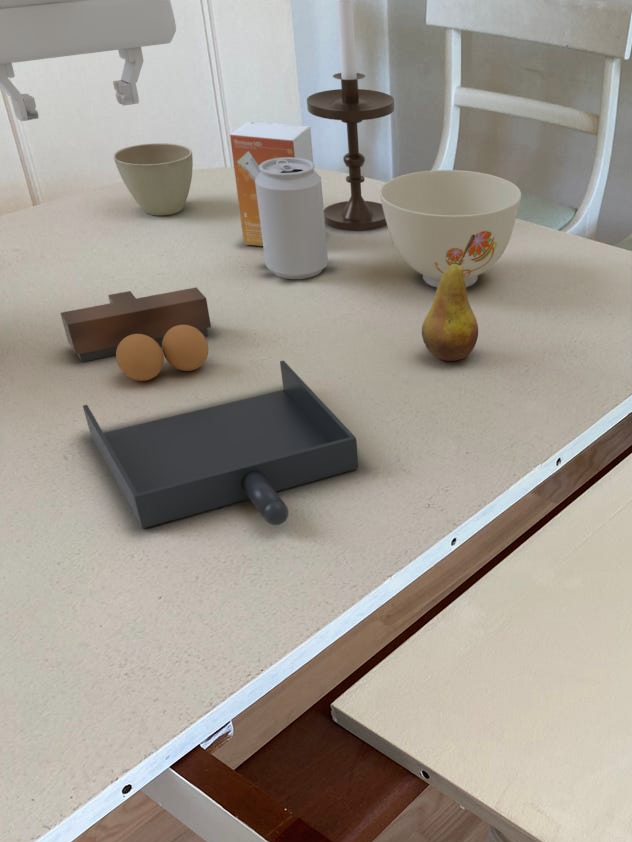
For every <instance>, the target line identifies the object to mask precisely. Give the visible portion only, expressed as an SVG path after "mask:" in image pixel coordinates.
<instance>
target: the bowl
mask: <svg viewBox="0 0 632 842" xmlns="http://www.w3.org/2000/svg"><path fill="white" fill-rule="evenodd" d="M379 198H380V204H382V207H383V211H384V215H385V219H386V223H387V225H386V227H387V229H388V233H389V236H390V239H391V243H392V244H393V246H394V248H395V250H396V251H397V253H398V255H399V256H400V258H401V259H402V260H403V261H404V262H405V263H406V264H407V265H408V266H409V267H410V268H412V269H413V270H414V271H416V272H418V273H419V274H421V275H422V279H423V281H424V282H425V283H426V284H427V285H429V286H430V287H433V288H436V289H437V288H438V285H439V282H440V280H441V277H442V275H443V273H444V272H445V270H446V269H447V268H448V267H449V266H451V264H457V263H458V261H459V259H460V258H461V256H462V254H463V253H464V250H465V248H466V246H467V244H468V242H469V240H470V238H471V236H472V235H475V238H474V240H473V242H472V243H471V245H470V246H469V248H468V250H467V252H466V254H465V256H464V258H463V260H462V261H461V264H460V265H461V267H462V268H463V275H464V279H465V285H466V288H470V287H471V286H473V285H474V284H475V283H476V282H477V281H478V278H479V277H478V276H479V275H482V274H483V273H485V272H486V271H488V270H490V268H491V267H493V266H494V265H495V264H496V263H497V262H498V261H499V260H500V258H501V257H502V255H503V254H504V253H505V251H506V249H507V247H508V245H509V243H510V239H511V236H512V235H513V230H514V227H515V223H516V219H517V216H518V212H519V208H520V205H521V199H522V191H521V190H520V188H519V187H518V186H517V185H515V183H513V182H511V181H509V180H507V179H505V178H502V177H500V176H496V175H492V174H489V173H484V172H478V171H472V170H461V169H460V170H459V169H458V170H457V169H434V170H424V171H415V172H411V173H406V174H403V175H399V176H396V177H394V178H391V179H390V180H388V181H386V182H385V183H384V184H383V185H382V186H381V187H380V189H379Z"/></svg>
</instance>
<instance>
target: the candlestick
mask: <svg viewBox="0 0 632 842" xmlns="http://www.w3.org/2000/svg"><path fill="white" fill-rule="evenodd" d="M336 13H337V24H338V25H337V27H338V44H339V57H340V72H339V73H334V74H333V75H332V77H333V79H336V80H340V87H341V88H338V89H328V90H322V91H319V92H315V93H313V94H311V95H309V96H308V97H306V106H307V107H306V108H307V111H308V113H309V114H311V115H312V116H315V117H317V118H318V117H319V118H321V119H327V120H335V121H340V122H342V123H344V124H346V134H347V150H348V151H347V153H346V154H344V155H343V159H342V161H343V163H344V165H345V167H347V168H348V175H347V176H346V177H345V181H346V182H347V183H348V184H350V185H349V186H350V197H349V199H348V200H345V201H340V202H336V203H332V204H330V205H328V206H327V207H324V220H325V225H328V226H329V227H332V228H335V229H338V230H343V231H355V232H357V231H359V232H360V231H369V230H376V229H379V228H382V227H385V226H387V223H386V219H385V215H384V211H383V207H382V203H381V202H377V201H371V200H365V199H364V198H363V196H362V183H364V182H365V176H364V175H362V170H361V168H362V167H363V166H364V164H365V161H366V157H365V155H363V154H362V153H361V152H360V149H359V148H360V147H359V131H358V124H359V123H361V122H363V121H368V120H375V119H380V118H383V117H386V116H389V115H391V114H392V113H394V111H395V99H394V96H392V95H390V94H389V93H385V92H383V91H382V92H381V91H378V90H373V89H364V88H363V89H362V88H359V80H362V79H365V78H366V75H365V74H363V73H360V72H357V58H356V57H357V56H356V39H355V22H354V21H355V19H354V4H353V0H336Z"/></svg>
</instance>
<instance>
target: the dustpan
mask: <svg viewBox="0 0 632 842" xmlns="http://www.w3.org/2000/svg"><path fill="white" fill-rule="evenodd" d="M279 365H280V372H281V373H280V374H281V381H282V382H281V383H282V390H278V391H273V392H269V393H265V394H261V395H256V396H252V397H248V398H244V399H240V400H235V401H231V402H226V403H222V404H219V405H214V406H210V407H205V408H201V409H197V410H193V411H189V412H184V413H181V414H180V413H179V414H177V415H172V416H168V417H164V418H158V419H155V420H151V421H147V422H142V423H138V424H134V425H129V426H126V427H121V428H118V429H113V430H108V431H105V432H104V431H103V430H102V428H101V426H100V425H99V423H98V421H97V420H96V418H95V416H94V414H93V412H92V411H91V408H90V407H89V406H88V404H83V405H82V409H83V412H84V416H85V420H86V423H87V427H88V430H89V434H90V437H91V440H92V441H93V443H94V445H95V447H96V449H97V451H98V452H99V454H100V456H101V458H102V459H103V462H104V463H105V465H106V466H107V468H108V470H109V472H110V474H111V476H112V477H113V479H114V482H115V483H116V485H117V486H118V488H119V490H120V493H121V494H122V495H123V498H124V499H125V501H126V503H127V504H128V507H129V508H130V510H131V512H132V513H133V515H134V517H135V519H136V521H137V523H138V524H139V526H140V528H141V529H146V528H150V527H153V526H156V525H157V526H158V525H160V524H164V523H167V522H171V521H175V520H178V519H182V518H186V517H189V516H192V515H196V514H199V513H203V512H207V511H210V510H211V511H212V510H214V509H217V508H221V507H224V506H229V505H231V504H235V503H239V502H242V501H246V500H250V501H251V502H252V504H253V505H254V506H255V508H256V510H257V511H258V512H259V513H260V515H261V516H262V518H263V519H264V520H265V521H266V523H268V524H269V525H272V526H280V525H282V524H285V522H286V521H287V520H288V517H289V508H288V506H287V504H286V503H285V502H284V500H283V499H282V498H281V497H280V495H279V494H278V492H279V491H282V490H285V489H290V488H292V487H297V486H300V485H303V484H306V483H312V482H314V481H318V480H321V479H325V478H329V477H332V476H337V475H340V474H342V473H346V472H350V471H354V470H357V469H359V457H358V456H359V455H358V445H357V437H356V436H355V435H354V434H353V433H352V431H350V430H349V429H348V428H347V426H346V425H345V424H344V423H343V422H342V421H341V420H340V419H339V418H338V417H337V415H336V414H334V412H333V411H331V409H330V408H329V407H328V406H327V405H326V404H325V403H324V401H322V400H321V399H320V398H319V397H318V396H317V394H316V393H315V392H314V391H313V390H312V389H311V387H309V386H308V384H306V382H304V380H303V379H302V378H301V377H300V376H299V375H298V374H297V373H296V372H295V371H294V370H293V369H292V368H291V366H290V365H289V364H288V363H287V362H286V361H285V360H280V361H279Z"/></svg>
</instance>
